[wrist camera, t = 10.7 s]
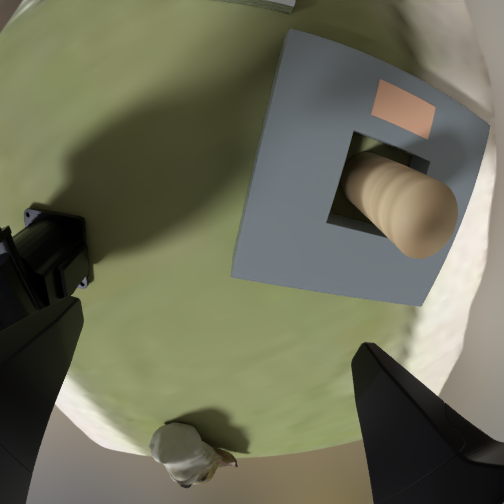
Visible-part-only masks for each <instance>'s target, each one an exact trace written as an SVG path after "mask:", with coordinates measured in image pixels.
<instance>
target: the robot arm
mask: <svg viewBox="0 0 504 504" xmlns="http://www.w3.org/2000/svg"><path fill="white" fill-rule="evenodd" d="M28 212H29V213H28ZM29 214H30V215H29ZM24 220H25V228H24V229H23V230H21V231H20V232H19V233H17V234H16V235H15V236H13V237H12V235H11V233H12V232H11V229H10V227H9V226H6V227H4V228H2V229H1V227H0V504H26V500H27V495H28V491H29V486H30V482H31V478H32V473H33V470H34V466H35V462H36V459H37V455H38V452H39V448H40V445H41V442H42V439H43V436H44V433H45V430H46V427H47V424H48V421H49V418H50V415H51V412H52V410H53V407H54V404H55V402H56V399H57V396H58V394H59V391H60V389H61V386H62V384H63V381H64V379H65V377H66V374H67V372H68V369H69V367H70V364H71V361H72V358H73V355H74V351H75V348H76V345H77V342H78V339H79V336H80V333H81V330H82V327H83V323H84V318H83V312H82V305H81V301H80V299H79V298H76V297H73V296H71V295H72V294H73V292H74V291H75V290H76V288H77V287H78V288H82V289H85V288H86V287H87V286H88V285H89V279H88V273H89V262H88V247H87V244H86V228H85V220H84V219H83V218H82V217H80V216H74V215H69V214H63V213H58V212H52V211H47V210H41V209H36V208H27V209H26V210H25V211H24ZM78 222H79V223H80V225H79V224H78ZM82 282H83V283H84V284H83V283H82ZM351 368H352V376H353V384H354V393H355V402H356V407H357V412H358V417H359V422H360V427H361V432H362V437H363V442H364V447H365V453H366V458H367V464H368V470H369V476H370V482H371V489H372V495H373V502H374V504H504V443H503V442H499V441H496V440H494V439H493V438H491V437H490V436H488V435H487V434H485V433H484V432H483V431H481V430H480V429H478V428H477V427H476V426H474V425H473V424H471V423H470V422H469V421H467V420H466V419H465V418H463V417H462V416H461V415H460V414H458V413H457V412H456V411H455V410H453V409H452V408H451V407H450V406H449V405H447V404H446V403H444V401H443V400H442V399H440V398H439V397H438V396H437V395H436V394H435V393H433V392H432V391H431V390H430V389H429V388H427V387H426V386H425V385H424V384H423V383H421V382H420V381H419V380H418V379H417V378H416V377H414V376H413V375H412V374H411V373H410V372H408V371H407V370H406V369H405V368H404V367H402V366H401V365H400V364H399V363H398V362H396V361H395V360H394V359H393V358H392V357H391V356H389V355H388V354H387V353H386V352H385V351H383V350H382V349H381V348H380V347H379V346H377V345H376V344H375V343H369V342H364V343H362V344H361V346H360V347H359V349H358V351H357V352H356V354H355V356H354V357H353V359H352V363H351Z"/></svg>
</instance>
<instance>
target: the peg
mask: <svg viewBox="0 0 504 504" xmlns="http://www.w3.org/2000/svg"><path fill="white" fill-rule="evenodd" d="M341 187H342V190H343V193H344V195H345V196H346V198H347V199H348V200H349V201H350V202H351V203H352V204H354V205H355V206H356V207H357V208H358V209H359V210H360V211H361V212H362V213H363V214H364V215H365V216H366V217H367V218H368V219H369V220H370V221H371V222H373V223H374V224H375V225H376V226H377V227H378V228H379V229H380V230H381V231H382V232H383V233H384V234H385V235H386V236H387V237H388V238H389V239H390V240H391V241H392V242H393V243H394V244H395V245H396V247H397V248H398V249H399V250H400V251H401V252H402V253H404V254H405V255H406V256H408V257H411V258H415V259H422V258H427V257H430V256H432V255H434V254H435V253H437V252H438V251H440V250H441V249H442V248H443V247H444V246H445V245H446V244H447V242H448V241H449V239H450V238H451V236H452V234H453V232H454V230H455V227H456V223H457V218H458V206H457V201H456V198H455V195H454V193H453V192H452V190H451V189H450V188H449V187H448V186H447V185H446V184H444V183H442V182H440V181H438V180H436V179H434V178H432V177H430V176H428V175H425V174H423V173H421V172H419V171H416V170H414V169H412V168H410V167H407V166H405V165H402V164H400V163H398V162H395V161H393V160H390V159H388V158H385V157H383V156H380V155H377V154H375V153H370V152H364V153H360V154H357V155H355V156H354V157H352V158H351V159H350V160H349V161H348V162H347V163H346V165H345V166H344V168H343V171H342V175H341Z"/></svg>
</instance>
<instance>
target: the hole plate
mask: <svg viewBox="0 0 504 504" xmlns="http://www.w3.org/2000/svg"><path fill="white" fill-rule="evenodd" d="M489 130H490V125H489V124H488V123H487V122H485V121H484V120H483V119H481V118H480V117H479V116H477V115H476V114H474V113H473V112H472V111H470V110H469V109H467V108H466V107H464V106H463V105H461V104H460V103H458V102H457V101H455V100H454V99H452V98H451V97H449V96H448V95H446V94H444V93H443V92H441V91H439V90H438V89H436V88H434V87H433V86H431V85H429V84H428V83H426V82H424V81H422V80H420V79H419V78H417V77H415V76H413V75H411V74H409V73H407V72H405V71H403V70H401V69H399V68H397V67H395V66H393V65H391V64H389V63H387V62H384V61H382V60H380V59H378V58H376V57H373V56H371V55H369V54H366V53H364V52H361V51H359V50H356V49H354V48H351V47H348V46H346V45H343V44H340V43H337V42H335V41H332V40H329V39H326V38H323V37H319V36H316V35H313V34H310V33H306V32H303V31H299V30H295V29H291V28H290V29H289V30H288V32H287V34H286V36H285V38H284V41H283V45H282V48H281V52H280V56H279V60H278V64H277V68H276V72H275V76H274V80H273V84H272V89H271V93H270V97H269V101H268V105H267V109H266V113H265V117H264V122H263V126H262V130H261V134H260V138H259V143H258V147H257V151H256V155H255V160H254V164H253V168H252V173H251V177H250V181H249V186H248V190H247V195H246V199H245V204H244V208H243V212H242V217H241V221H240V226H239V231H238V235H237V240H236V244H235V249H234V253H233V258H232V269H231V277H232V278H238V279H244V280H249V281H255V282H261V283H267V284H273V285H278V286H285V287H291V288H297V289H303V290H309V291H315V292H322V293H328V294H335V295H341V296H348V297H355V298H362V299H369V300H376V301H383V302H390V303H398V304H405V305H413V306H422V304H423V303H424V301H425V299H426V297H427V295H428V293H429V292H430V290H431V288H432V286H433V284H434V282H435V280H436V278H437V276H438V274H439V272H440V270H441V268H442V266H443V264H444V262H445V259H446V257H447V255H448V253H449V251H450V248H451V246H452V244H453V242H454V239H455V237H456V234H457V232H458V230H459V227H460V225H461V222H462V219H463V217H464V214H465V212H466V209H467V206H468V203H469V201H470V198H471V195H472V192H473V189H474V186H475V183H476V179H477V176H478V173H479V169H480V166H481V162H482V159H483V155H484V151H485V147H486V143H487V139H488V135H489ZM353 132H355V133H357V134H360V135H363V136H366V137H369V138H371V139H374V140H377V141H379V142H382V143H384V144H387V145H389V146H392V147H394V148H397V149H399V150H401V151H404V152H406V153H409V154H411V155H412V157H411V161H410V164H409V167H410V168H412V169H414V170H416V171H419V172H421V173H423V174H425V175H428V176H430V177H432V178H434V179H436V180H438V181H440V182H442V183H444V184H446V185H447V186H448V187H449V188H450V189H451V190H452V192H453V193H454V195H455V198H456V201H457V206H458V218H457V223H456V227H455V230H454V232H453V234H452V236H451V238H450V239H449V241H448V242H447V244H446V245H445V246H444V247H443V248H442V249H441V250H440V251H438V252H437V253H435V254H434V255H432V256H430V257H427V258H422V259H415V258H411V257H408V256H406V255H405V254H404V253H402V252H401V251H400V250H399V249H398V248H397V247H396V245H395V244H394V243H393V242H392V241H391V240H390V239H389V238H388V237H387V236H386V235H385V234H384V233H383V232H382V231H381V230H380V229H379V228H378V227H377V226H376V225H374V224H370V223H366V222H363V221H359V220H355V219H351V218H347V217H343V216H339V215H335V214H331V213H329V212H330V209H331V206H332V203H333V200H334V196H335V193H336V190H337V187H338V183H339V180H340V177H341V173H342V170H343V167H344V163H345V160H346V156H347V153H348V149H349V146H350V142H351V138H352V135H353Z"/></svg>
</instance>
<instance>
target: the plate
mask: <svg viewBox="0 0 504 504" xmlns="http://www.w3.org/2000/svg"><path fill="white" fill-rule="evenodd" d="M214 1H223V2H231V3H238V4H244V5H250V6H256V7H261V8H266V9H271V10H276V11H280V12H284V13H288V14H291V12H292V10H293V8H294V5H295V1H296V0H214Z"/></svg>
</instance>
